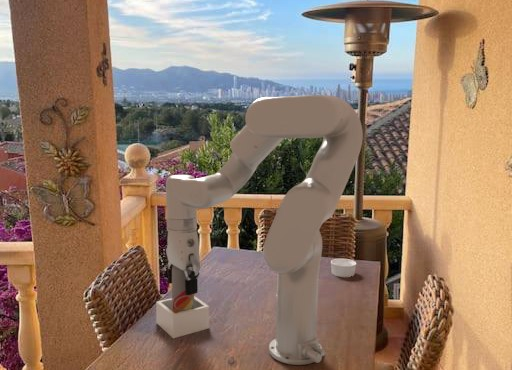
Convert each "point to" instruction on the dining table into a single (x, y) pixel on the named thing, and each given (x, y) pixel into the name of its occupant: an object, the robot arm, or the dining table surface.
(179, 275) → the lotion bottle
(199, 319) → the caddy
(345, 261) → the ramekin
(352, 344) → the dining table surface
